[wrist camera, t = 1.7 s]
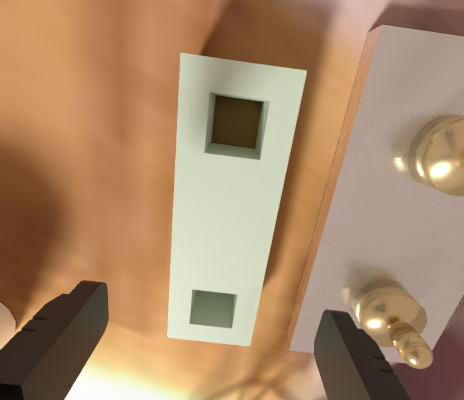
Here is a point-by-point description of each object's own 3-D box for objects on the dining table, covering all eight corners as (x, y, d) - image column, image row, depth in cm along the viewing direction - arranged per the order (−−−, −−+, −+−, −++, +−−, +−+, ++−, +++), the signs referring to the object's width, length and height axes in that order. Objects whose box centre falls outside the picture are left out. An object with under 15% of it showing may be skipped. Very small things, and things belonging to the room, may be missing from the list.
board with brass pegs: (368, 32, 15) (462, -22, 9) (563, 60, 15) (789, 29, 9) (285, 335, 23) (303, 418, 17) (412, 349, 23) (474, 435, 17)
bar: (194, 66, 15) (180, 52, 12) (290, 79, 16) (307, 70, 12) (179, 297, 22) (167, 337, 18) (247, 305, 22) (249, 346, 18)
